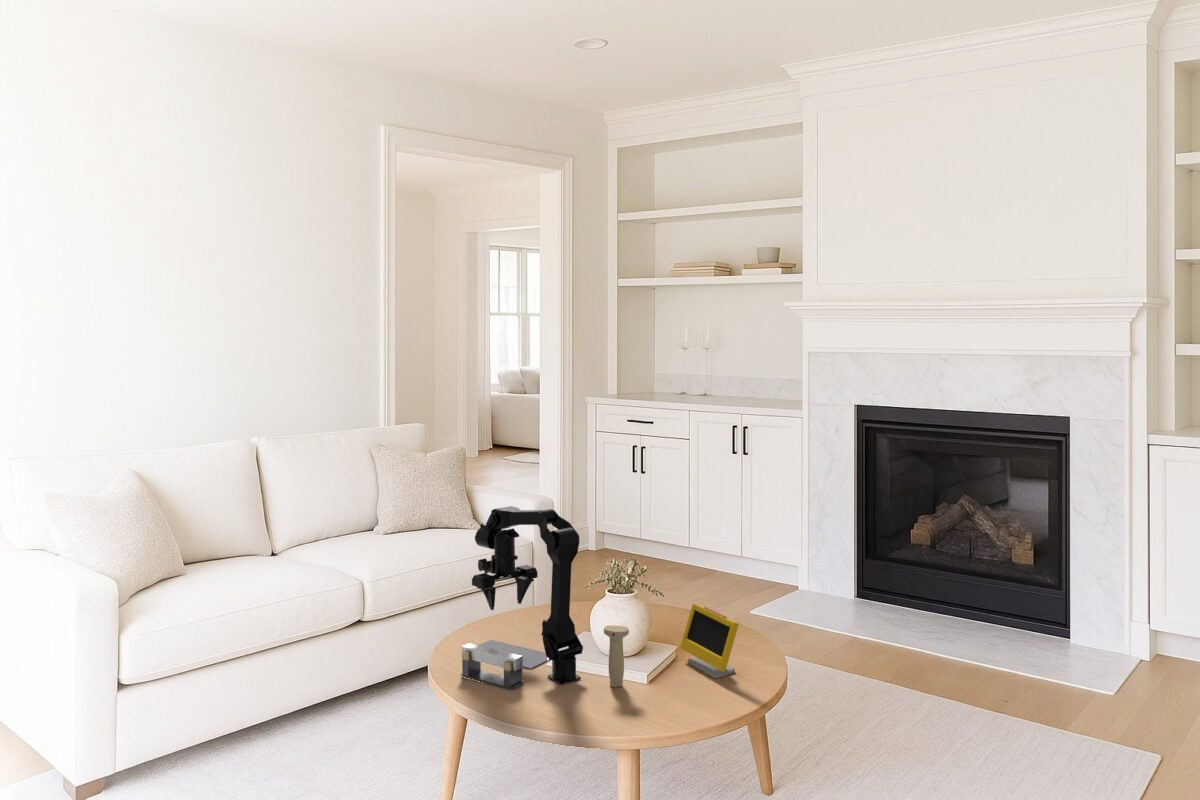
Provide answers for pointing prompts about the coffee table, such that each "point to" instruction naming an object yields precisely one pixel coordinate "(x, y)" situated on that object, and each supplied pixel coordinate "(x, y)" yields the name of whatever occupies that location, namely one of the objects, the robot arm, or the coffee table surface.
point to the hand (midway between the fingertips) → (505, 606)
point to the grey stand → (491, 674)
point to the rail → (493, 656)
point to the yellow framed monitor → (709, 641)
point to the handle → (616, 653)
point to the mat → (519, 653)
